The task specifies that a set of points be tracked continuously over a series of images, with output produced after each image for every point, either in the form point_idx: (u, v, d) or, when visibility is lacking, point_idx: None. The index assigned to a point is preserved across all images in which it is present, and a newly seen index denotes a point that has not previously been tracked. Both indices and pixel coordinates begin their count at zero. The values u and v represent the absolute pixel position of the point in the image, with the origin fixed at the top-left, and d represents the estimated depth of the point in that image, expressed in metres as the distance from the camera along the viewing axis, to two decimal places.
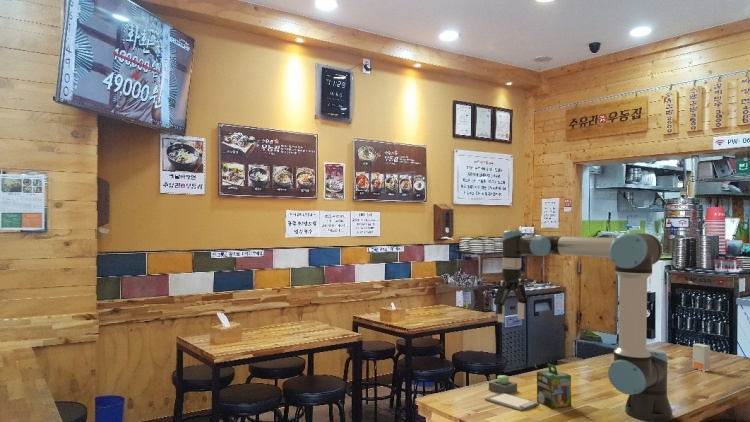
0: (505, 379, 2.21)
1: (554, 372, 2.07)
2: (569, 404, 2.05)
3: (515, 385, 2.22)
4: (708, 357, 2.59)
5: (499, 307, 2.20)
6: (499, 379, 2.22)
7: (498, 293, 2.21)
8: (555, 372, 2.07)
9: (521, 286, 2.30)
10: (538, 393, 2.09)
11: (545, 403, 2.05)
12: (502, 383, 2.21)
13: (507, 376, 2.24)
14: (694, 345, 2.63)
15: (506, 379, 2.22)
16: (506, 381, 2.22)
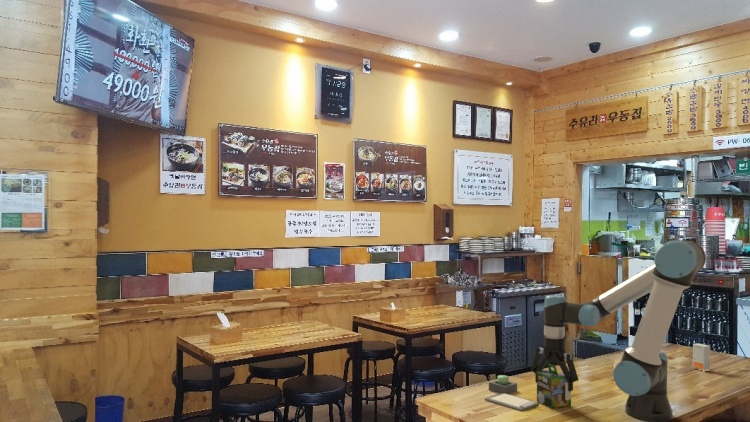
0: (505, 379, 2.21)
1: (554, 372, 2.07)
2: (569, 404, 2.05)
3: (515, 385, 2.22)
4: (708, 357, 2.59)
5: None
6: (499, 379, 2.22)
7: None
8: (555, 372, 2.07)
9: None
10: (538, 393, 2.09)
11: (545, 403, 2.05)
12: (502, 383, 2.21)
13: (507, 376, 2.24)
14: (694, 345, 2.63)
15: (506, 379, 2.22)
16: (506, 381, 2.22)
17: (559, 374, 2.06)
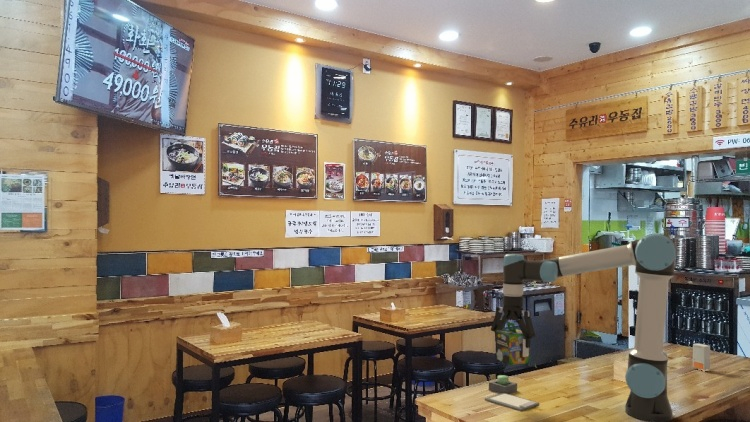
0: (505, 379, 2.21)
1: (513, 330, 2.08)
2: (527, 361, 2.06)
3: (515, 385, 2.22)
4: (708, 357, 2.59)
5: None
6: (499, 379, 2.22)
7: None
8: (513, 330, 2.08)
9: None
10: (497, 351, 2.10)
11: (503, 360, 2.06)
12: (502, 383, 2.21)
13: (507, 376, 2.24)
14: (694, 345, 2.63)
15: (506, 379, 2.22)
16: (506, 381, 2.22)
17: (518, 332, 2.07)
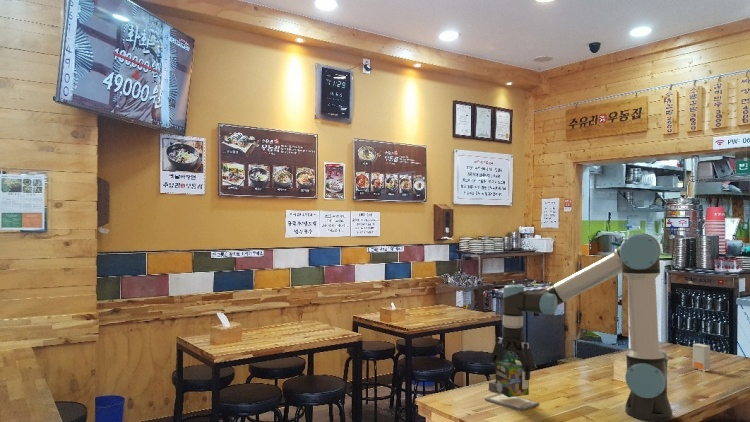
0: None
1: (512, 361, 2.08)
2: (526, 393, 2.06)
3: None
4: (708, 357, 2.59)
5: None
6: None
7: None
8: (513, 362, 2.08)
9: None
10: (497, 382, 2.10)
11: (503, 392, 2.06)
12: None
13: None
14: (694, 345, 2.63)
15: None
16: None
17: (517, 363, 2.07)
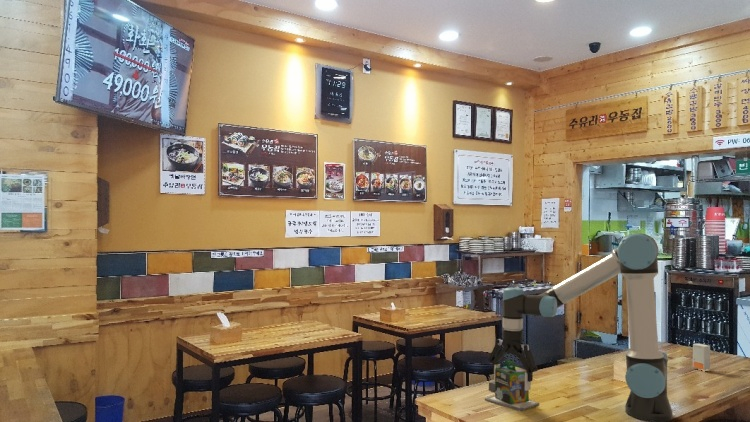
0: None
1: (512, 368, 2.08)
2: (527, 399, 2.06)
3: None
4: (708, 357, 2.59)
5: None
6: None
7: None
8: (513, 368, 2.08)
9: None
10: (497, 389, 2.10)
11: (503, 399, 2.06)
12: None
13: None
14: (694, 345, 2.63)
15: None
16: None
17: (517, 370, 2.07)
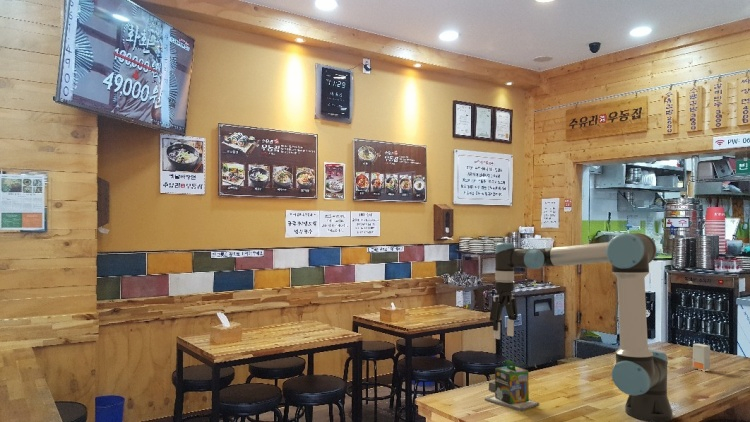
0: None
1: (512, 368, 2.08)
2: (527, 399, 2.06)
3: None
4: (708, 357, 2.59)
5: (495, 324, 2.20)
6: None
7: (492, 309, 2.20)
8: (513, 368, 2.08)
9: (513, 301, 2.27)
10: (497, 389, 2.10)
11: (503, 399, 2.06)
12: None
13: None
14: (694, 345, 2.63)
15: None
16: None
17: (517, 370, 2.07)
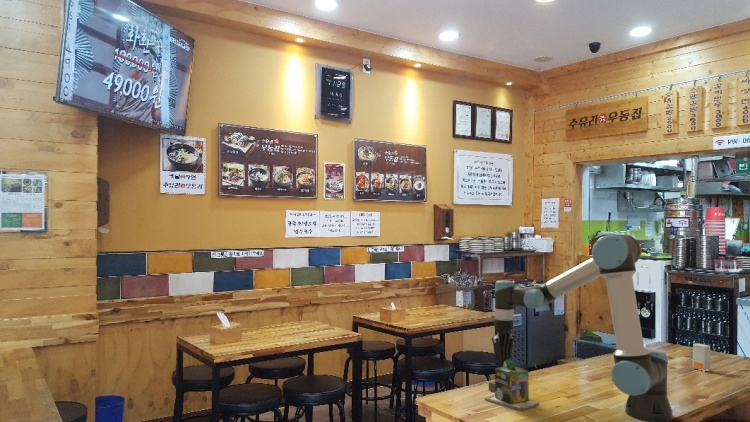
0: None
1: (512, 368, 2.08)
2: (527, 399, 2.06)
3: None
4: (708, 357, 2.59)
5: (500, 363, 2.22)
6: None
7: (496, 350, 2.21)
8: (513, 368, 2.08)
9: (510, 340, 2.26)
10: (497, 389, 2.10)
11: (503, 399, 2.06)
12: None
13: None
14: (694, 345, 2.63)
15: None
16: None
17: (517, 370, 2.07)
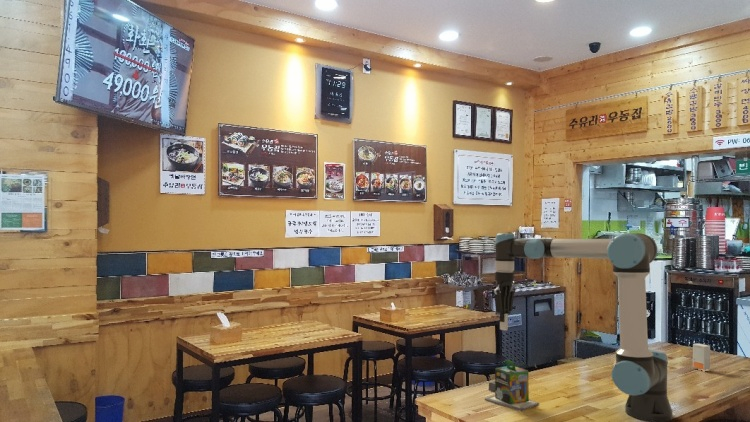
0: None
1: (512, 368, 2.08)
2: (527, 399, 2.06)
3: None
4: (708, 357, 2.59)
5: (501, 315, 2.23)
6: None
7: (496, 302, 2.21)
8: (513, 368, 2.08)
9: (511, 293, 2.27)
10: (497, 389, 2.10)
11: (503, 399, 2.06)
12: None
13: None
14: (694, 345, 2.63)
15: None
16: None
17: (517, 370, 2.07)
